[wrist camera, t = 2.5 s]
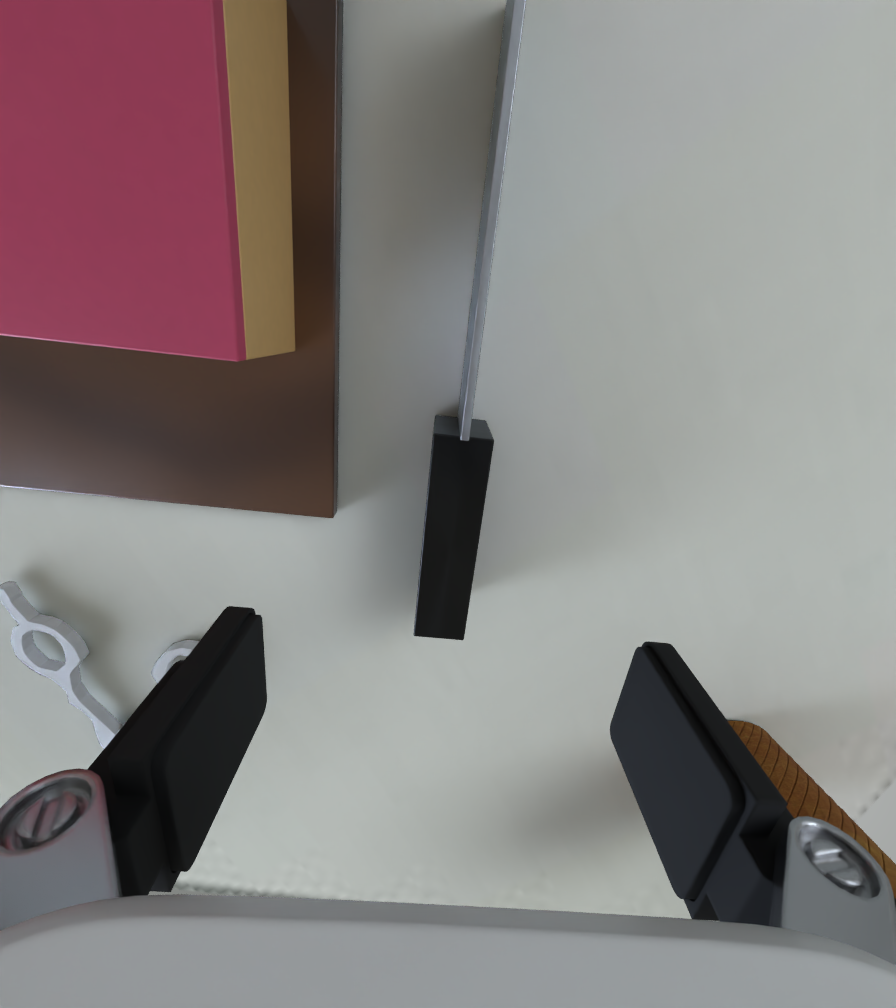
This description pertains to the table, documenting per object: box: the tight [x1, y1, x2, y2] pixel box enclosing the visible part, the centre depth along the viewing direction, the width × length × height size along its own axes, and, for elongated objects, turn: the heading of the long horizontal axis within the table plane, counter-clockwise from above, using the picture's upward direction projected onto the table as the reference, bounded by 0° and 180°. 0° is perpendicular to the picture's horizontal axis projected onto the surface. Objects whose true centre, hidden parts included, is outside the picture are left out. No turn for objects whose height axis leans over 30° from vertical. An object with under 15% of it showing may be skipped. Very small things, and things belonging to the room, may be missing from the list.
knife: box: [414, 0, 526, 640], centre depth 16 cm, size 22×2×4 cm, turn 174°
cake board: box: [0, 0, 343, 518], centre depth 15 cm, size 22×19×1 cm
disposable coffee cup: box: [728, 721, 896, 898], centre depth 21 cm, size 10×10×12 cm
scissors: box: [0, 581, 199, 749], centre depth 25 cm, size 11×1×20 cm
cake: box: [0, 0, 295, 362], centre depth 12 cm, size 10×7×5 cm
